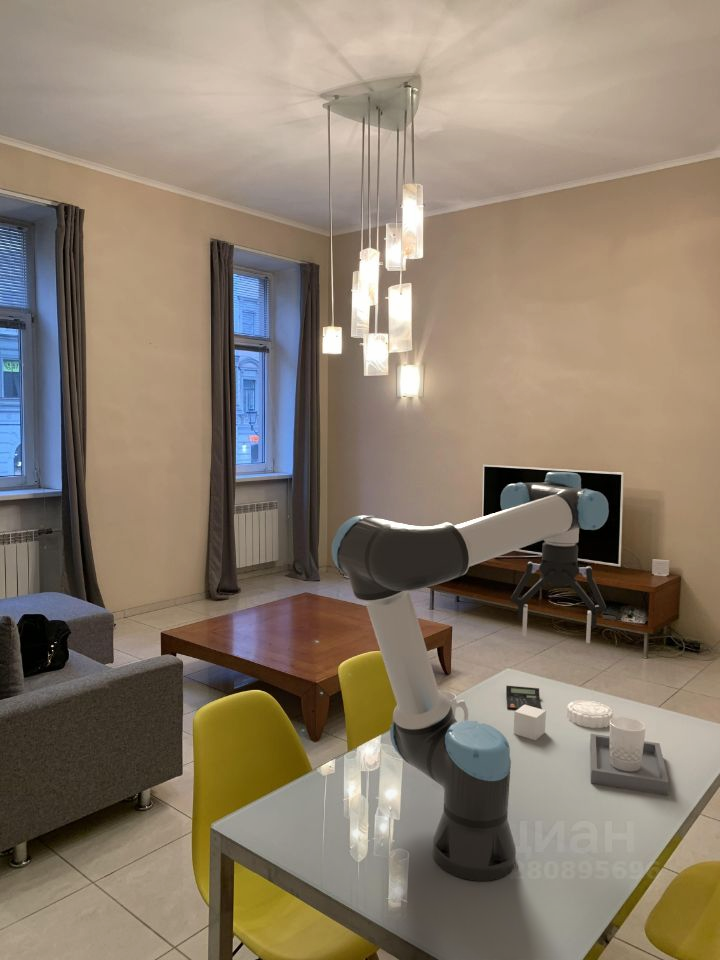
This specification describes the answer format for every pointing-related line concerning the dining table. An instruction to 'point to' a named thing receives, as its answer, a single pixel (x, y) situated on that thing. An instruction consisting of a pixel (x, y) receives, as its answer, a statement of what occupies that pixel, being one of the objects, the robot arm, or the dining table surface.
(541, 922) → the dining table surface
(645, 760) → the tray
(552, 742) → the dining table surface
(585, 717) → the mooncake
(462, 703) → the mug
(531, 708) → the white cube
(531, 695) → the calculator
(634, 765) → the white cup
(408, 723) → the robot arm
